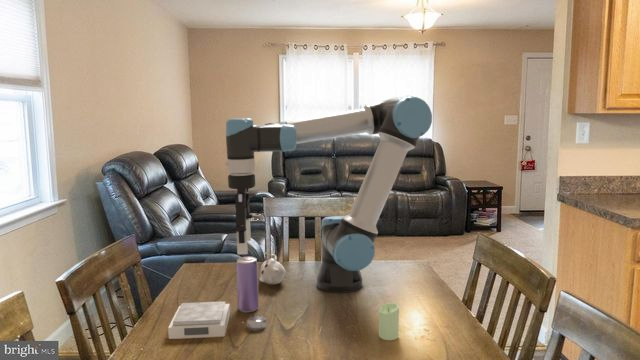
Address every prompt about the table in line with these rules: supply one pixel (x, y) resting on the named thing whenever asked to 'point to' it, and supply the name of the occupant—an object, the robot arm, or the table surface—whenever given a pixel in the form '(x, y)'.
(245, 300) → the beverage can
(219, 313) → the pan
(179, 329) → the base
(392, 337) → the candle
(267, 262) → the cat figurine
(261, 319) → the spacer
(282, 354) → the table surface
